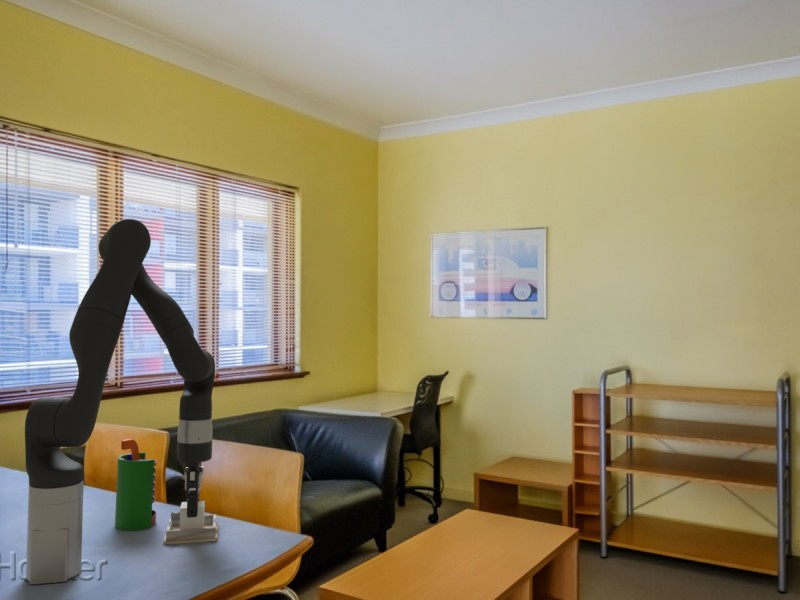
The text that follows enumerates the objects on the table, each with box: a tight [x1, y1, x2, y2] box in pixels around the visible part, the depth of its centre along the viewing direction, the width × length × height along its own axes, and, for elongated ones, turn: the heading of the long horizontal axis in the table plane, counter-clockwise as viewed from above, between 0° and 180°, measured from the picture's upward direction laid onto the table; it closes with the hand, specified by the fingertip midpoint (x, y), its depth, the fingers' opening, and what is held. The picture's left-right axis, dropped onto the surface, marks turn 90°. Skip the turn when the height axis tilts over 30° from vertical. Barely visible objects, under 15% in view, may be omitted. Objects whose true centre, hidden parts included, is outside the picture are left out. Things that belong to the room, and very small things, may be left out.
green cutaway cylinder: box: [114, 438, 158, 531], centre depth 154 cm, size 10×9×20 cm
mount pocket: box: [162, 513, 219, 546], centre depth 147 cm, size 11×11×3 cm
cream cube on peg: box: [170, 500, 206, 530], centre depth 147 cm, size 5×7×6 cm
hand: (193, 511), depth 147 cm, fingers open, 8 cm apart
